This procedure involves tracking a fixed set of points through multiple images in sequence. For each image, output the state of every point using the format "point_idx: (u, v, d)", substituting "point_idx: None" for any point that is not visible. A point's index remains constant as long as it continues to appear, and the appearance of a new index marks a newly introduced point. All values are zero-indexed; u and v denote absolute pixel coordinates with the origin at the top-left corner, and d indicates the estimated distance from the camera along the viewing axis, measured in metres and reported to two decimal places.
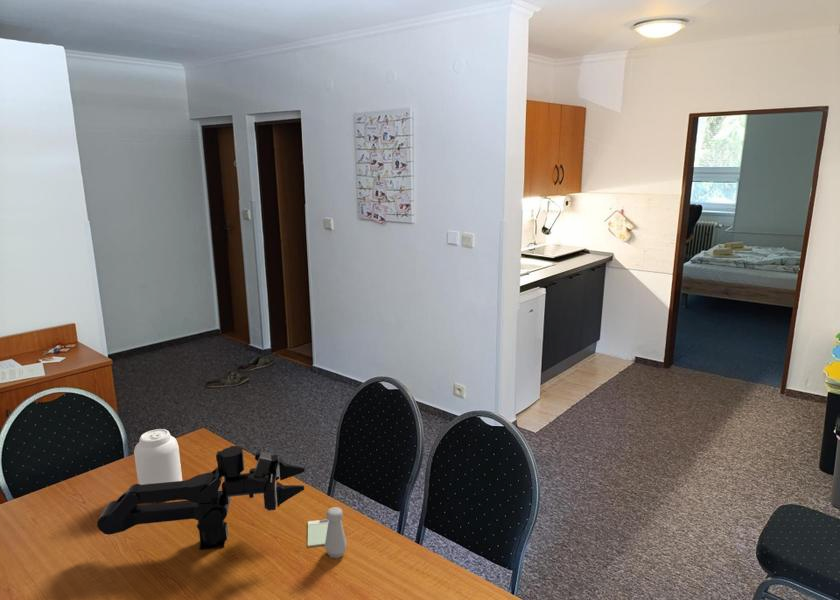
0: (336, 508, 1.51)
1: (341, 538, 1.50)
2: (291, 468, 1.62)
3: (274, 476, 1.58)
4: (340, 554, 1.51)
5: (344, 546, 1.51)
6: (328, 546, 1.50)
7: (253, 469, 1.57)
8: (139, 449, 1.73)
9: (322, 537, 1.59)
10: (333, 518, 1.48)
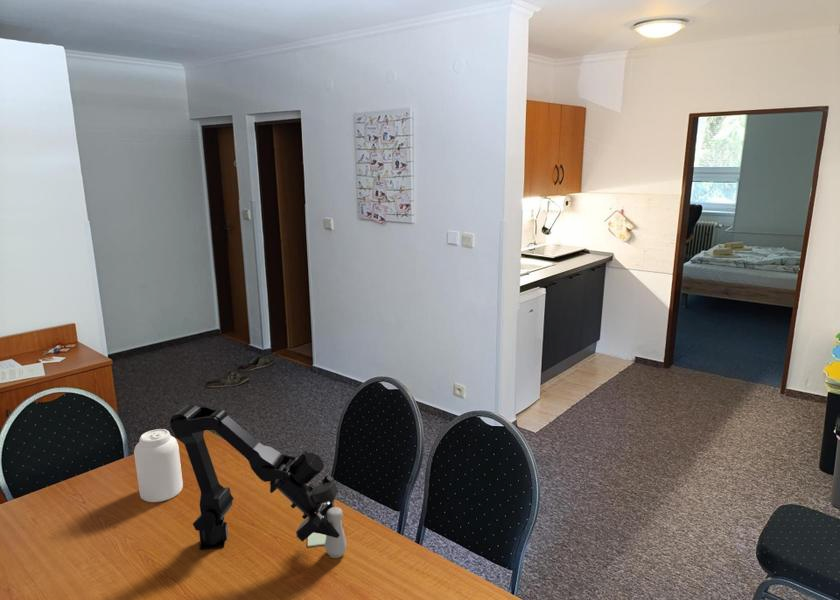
0: (336, 508, 1.51)
1: (341, 538, 1.50)
2: None
3: (321, 506, 1.52)
4: (340, 554, 1.51)
5: (344, 546, 1.51)
6: (328, 546, 1.50)
7: (313, 486, 1.51)
8: (139, 449, 1.73)
9: (322, 537, 1.59)
10: (333, 518, 1.48)
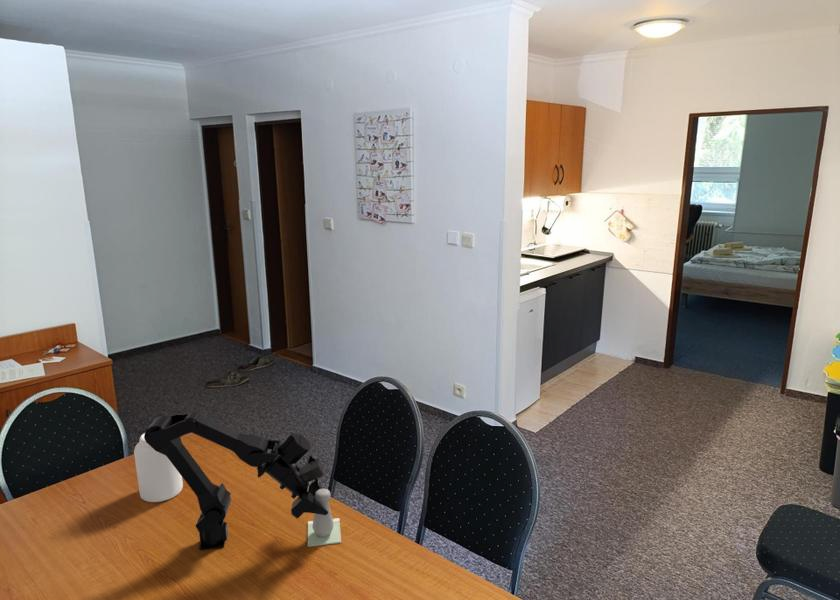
0: (323, 489, 1.58)
1: (329, 517, 1.58)
2: None
3: None
4: (329, 532, 1.59)
5: (332, 525, 1.59)
6: (317, 526, 1.57)
7: (299, 466, 1.57)
8: (139, 449, 1.73)
9: (322, 537, 1.59)
10: (323, 499, 1.56)
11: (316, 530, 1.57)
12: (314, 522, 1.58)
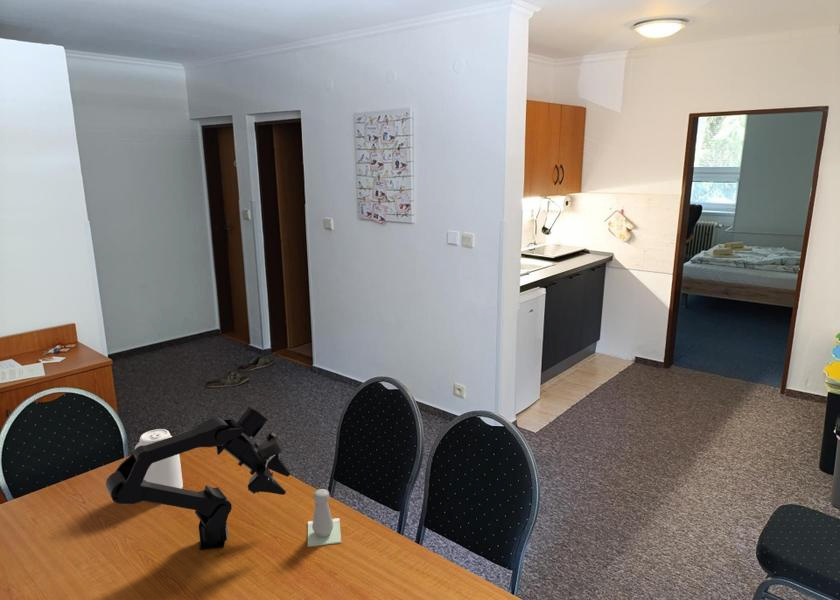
0: (322, 490, 1.58)
1: (329, 517, 1.58)
2: (281, 465, 1.64)
3: (267, 462, 1.60)
4: (329, 533, 1.59)
5: (332, 525, 1.59)
6: (317, 527, 1.57)
7: (258, 444, 1.59)
8: None
9: None
10: (321, 499, 1.55)
11: (316, 530, 1.57)
12: (314, 523, 1.58)
